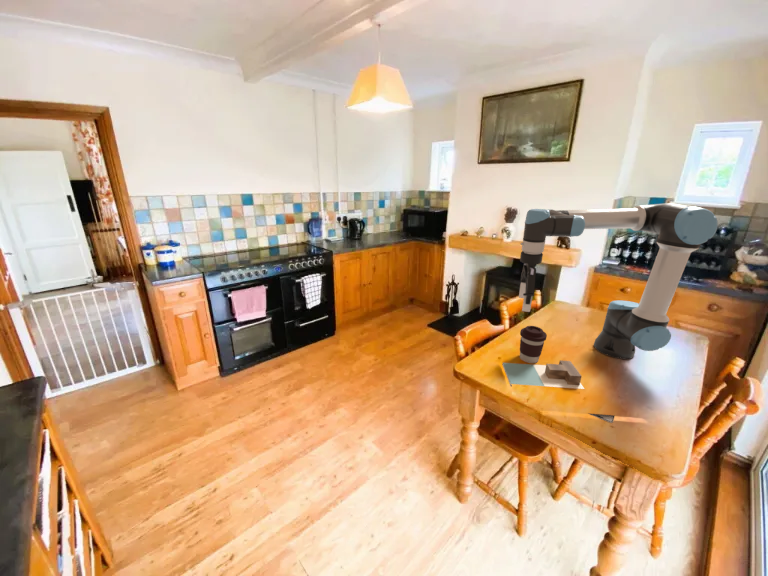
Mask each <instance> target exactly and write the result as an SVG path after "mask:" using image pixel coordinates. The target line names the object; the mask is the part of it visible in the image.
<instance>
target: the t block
mask: <svg viewBox="0 0 768 576" xmlns="http://www.w3.org/2000/svg"><path fill="white" fill-rule="evenodd" d="M545 373H546V375H547V377H548V378H549V379H564V380H565V381H566V382H567V384H568V385H580V383H581V380H582V378H583V377H582V374H581V373H580V372H579V370H578V369H577V368H576V366H575V365H574V364H573V363H572V361H571V360H559V362H558V363H557V364H556V363H546V369H545Z"/></svg>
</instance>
